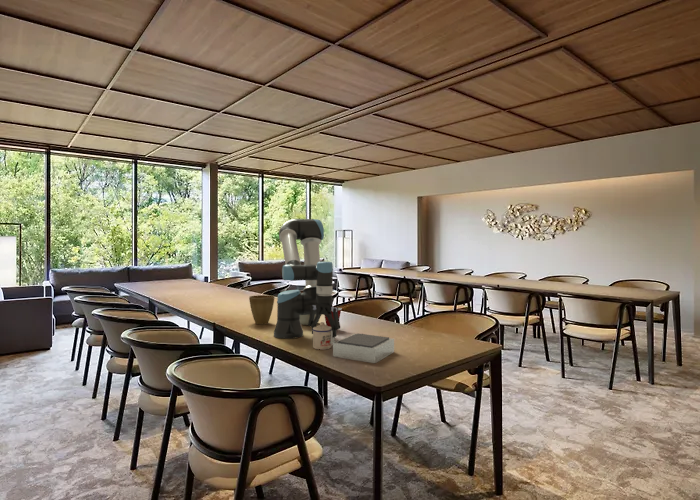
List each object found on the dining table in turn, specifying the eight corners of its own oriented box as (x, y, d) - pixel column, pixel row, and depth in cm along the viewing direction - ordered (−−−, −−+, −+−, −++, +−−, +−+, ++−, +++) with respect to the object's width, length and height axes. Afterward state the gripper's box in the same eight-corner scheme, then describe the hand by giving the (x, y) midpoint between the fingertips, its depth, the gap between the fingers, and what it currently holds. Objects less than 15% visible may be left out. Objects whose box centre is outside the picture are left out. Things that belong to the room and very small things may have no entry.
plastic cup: (332, 326, 244) (332, 306, 244) (345, 329, 236) (345, 308, 236) (318, 329, 237) (318, 308, 236) (331, 332, 229) (331, 310, 229)
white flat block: (332, 356, 183) (333, 341, 183) (359, 344, 205) (359, 330, 205) (375, 363, 173) (375, 347, 173) (398, 349, 195) (398, 335, 195)
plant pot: (279, 323, 253) (279, 296, 252) (258, 326, 242) (258, 298, 242) (264, 319, 263) (265, 294, 263) (244, 323, 252) (244, 296, 252)
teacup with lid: (321, 351, 191) (321, 325, 191) (308, 347, 198) (308, 322, 197) (340, 346, 200) (340, 321, 200) (327, 343, 206) (327, 319, 206)
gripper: (300, 293, 200) (300, 341, 201) (340, 297, 190) (339, 347, 190) (309, 292, 207) (308, 338, 207) (348, 295, 196) (347, 343, 197)
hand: (323, 342), depth 199 cm, fingers closed on teacup with lid, 9 cm apart
